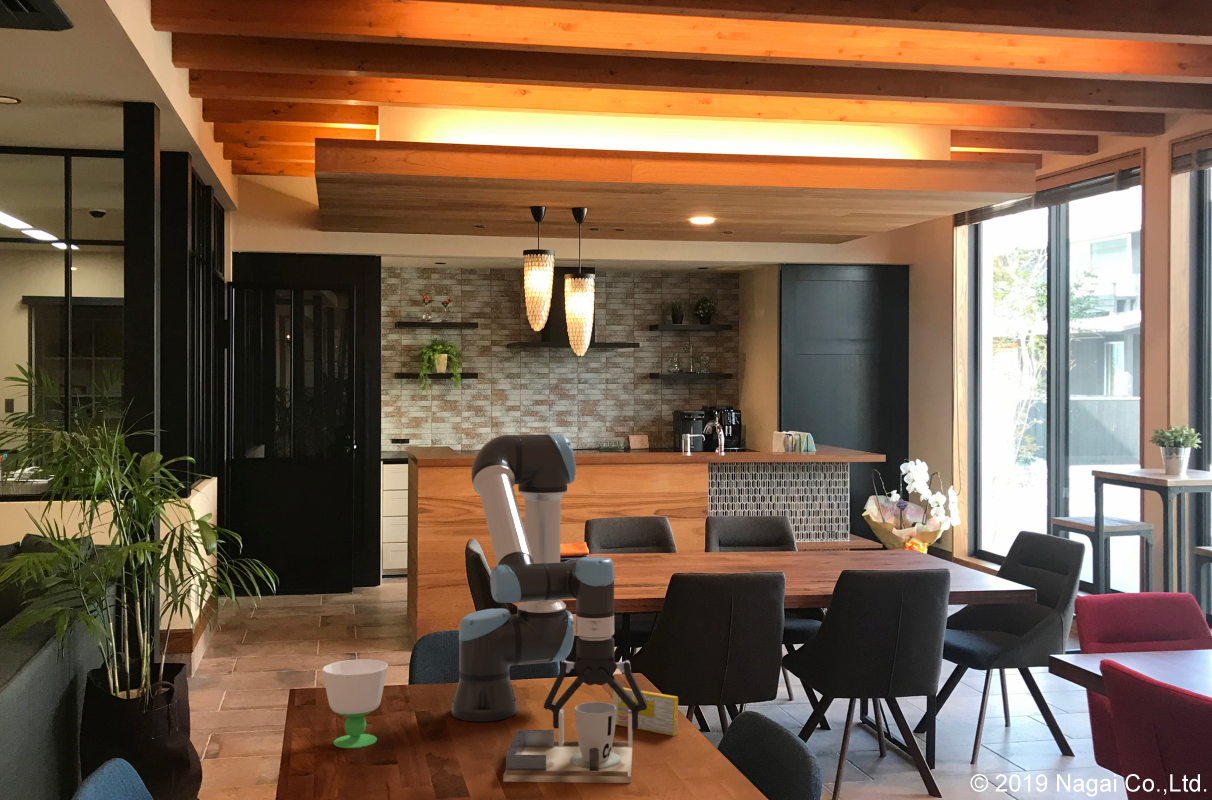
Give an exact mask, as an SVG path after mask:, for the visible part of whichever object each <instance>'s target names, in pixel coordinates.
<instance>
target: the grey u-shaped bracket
mask: <svg viewBox="0 0 1212 800" xmlns="http://www.w3.org/2000/svg"><path fill="white" fill-rule="evenodd" d="M554 741H555V730H554V729H517V730H516V732H515V735H514V737H513V739H512V741H511V744H510V746H509V749H508V751H507V753H506V755H505V770H547V755H522V753H523V750H524V747H554Z"/></svg>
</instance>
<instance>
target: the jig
mask: <svg viewBox="0 0 1212 800" xmlns="http://www.w3.org/2000/svg"><path fill="white" fill-rule="evenodd" d="M522 755H547V770H506V769H505V771H504V772H503V776H502V777H503V779H502V780H503V781H502V782H503V783H504V782H505V783H506V782H507V783H508V782H514V783H515V782H517V783H518V782H519V783H520V782H521V783H523V782H524V783H525V782H526V783H594V784H596V783H599V784H602V783H603V784H604V783H605V784H609V783H610V784H611V783H612V784H631V783H632V781H631V780H632V762H633V761H632V760H633V746H632V747H628V741H622V740H621V741H614V740H613V745H612V749H611V752H610V756H609V759H608V760H607V761H605V762H601V763H599V749H598V748H591V749H589V762H586V761H584V760H583V757H582V754H581V751H580V748H579V742H578V740H564V743H563V747H559V740H554V747H524V750H523V753H522Z"/></svg>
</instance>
